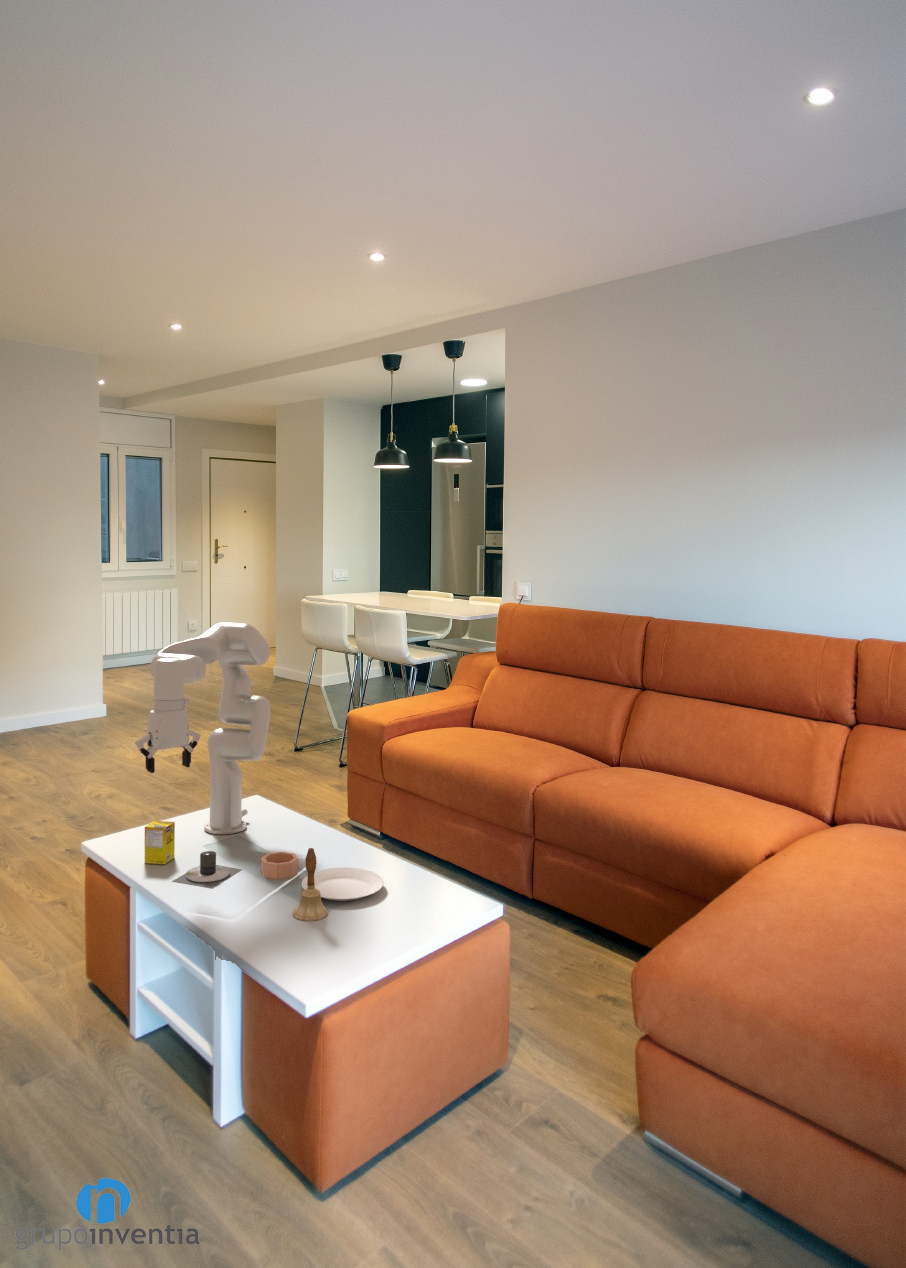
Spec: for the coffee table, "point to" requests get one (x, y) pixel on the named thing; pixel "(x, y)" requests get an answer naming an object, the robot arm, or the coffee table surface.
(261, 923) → the coffee table surface
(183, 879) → the mat
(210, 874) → the lid
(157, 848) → the supplement box
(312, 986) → the coffee table surface
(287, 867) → the hollow octagonal tube
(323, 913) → the hand bell
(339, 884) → the plate
